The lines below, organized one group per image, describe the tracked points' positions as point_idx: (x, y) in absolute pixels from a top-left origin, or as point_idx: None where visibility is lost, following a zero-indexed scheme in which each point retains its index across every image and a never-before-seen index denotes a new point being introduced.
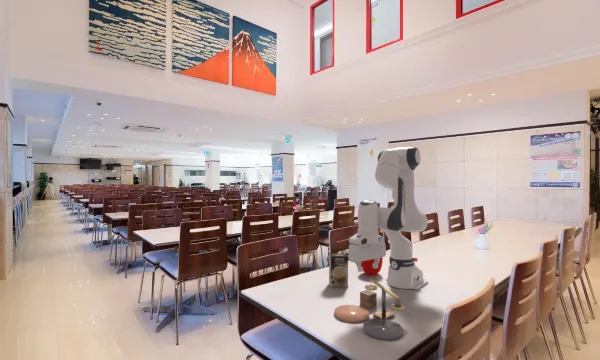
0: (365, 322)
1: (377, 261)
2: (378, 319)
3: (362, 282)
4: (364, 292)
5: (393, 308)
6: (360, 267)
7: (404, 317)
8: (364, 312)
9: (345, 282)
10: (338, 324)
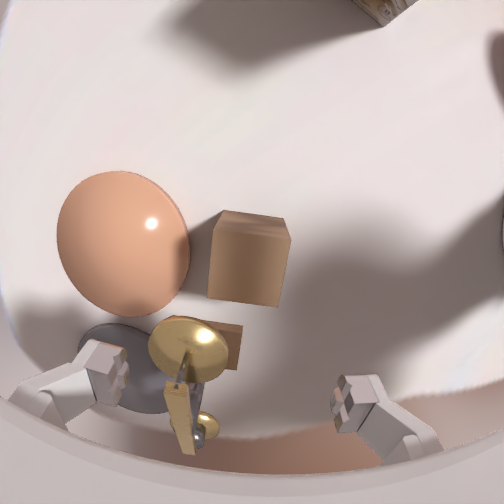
0: (102, 331)
1: (380, 449)
2: None
3: (476, 65)
4: (228, 253)
5: (171, 420)
6: (77, 400)
7: (261, 380)
8: (151, 291)
9: (382, 8)
10: (47, 260)
